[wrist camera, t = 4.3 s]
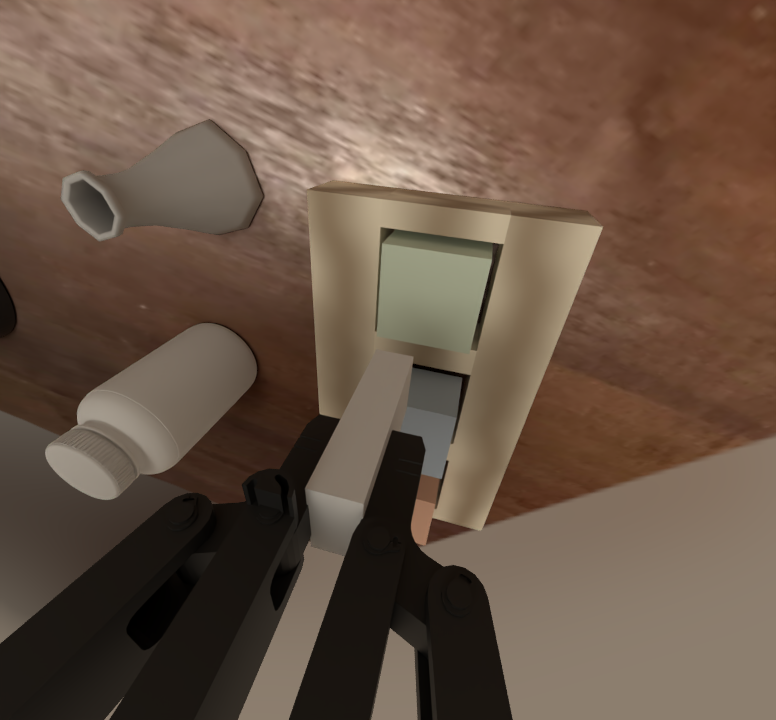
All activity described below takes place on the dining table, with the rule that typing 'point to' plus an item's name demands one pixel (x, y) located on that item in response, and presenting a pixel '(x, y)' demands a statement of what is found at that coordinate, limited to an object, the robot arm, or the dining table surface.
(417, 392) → the button slate
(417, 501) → the button terracotta
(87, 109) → the dining table surface
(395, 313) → the button sage
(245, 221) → the flask
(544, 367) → the panel
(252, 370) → the pill bottle
